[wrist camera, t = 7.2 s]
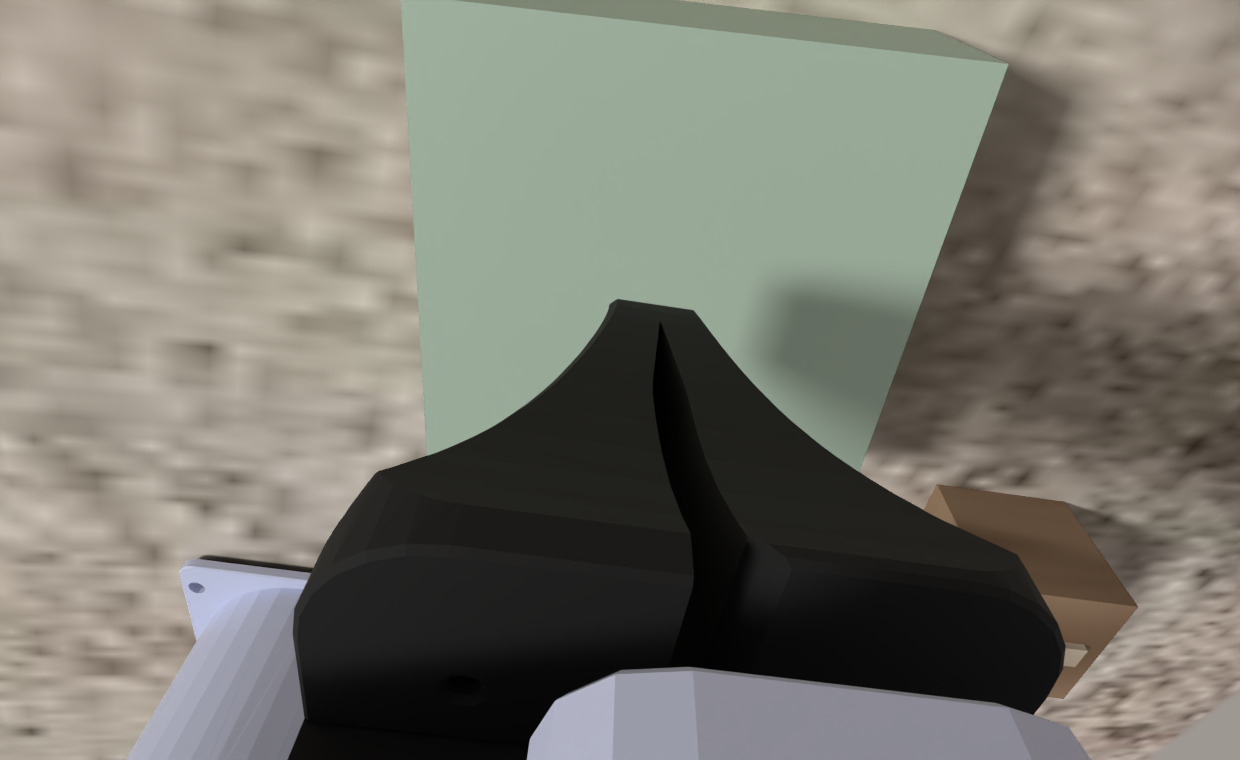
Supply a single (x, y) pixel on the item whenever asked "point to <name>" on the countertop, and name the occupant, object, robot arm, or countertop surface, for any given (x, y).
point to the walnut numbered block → (1048, 566)
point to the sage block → (679, 193)
